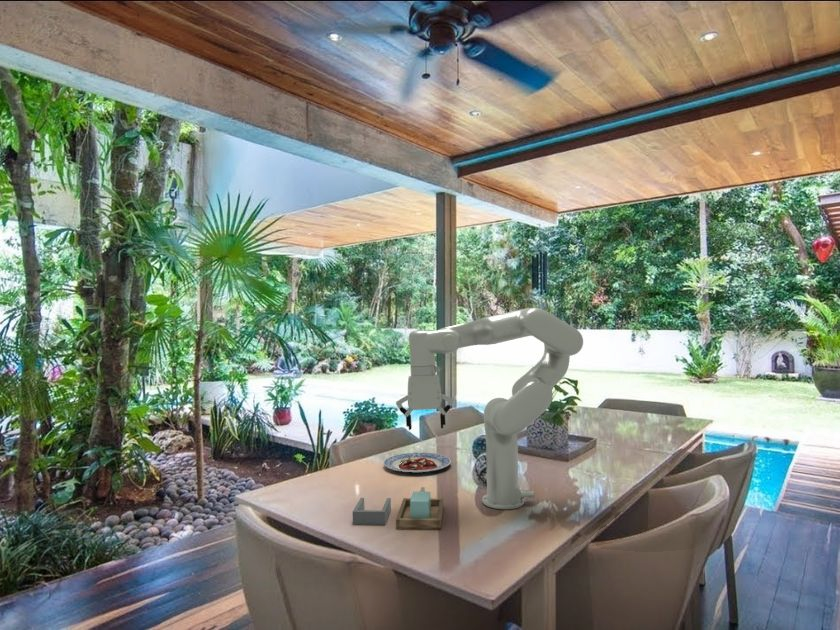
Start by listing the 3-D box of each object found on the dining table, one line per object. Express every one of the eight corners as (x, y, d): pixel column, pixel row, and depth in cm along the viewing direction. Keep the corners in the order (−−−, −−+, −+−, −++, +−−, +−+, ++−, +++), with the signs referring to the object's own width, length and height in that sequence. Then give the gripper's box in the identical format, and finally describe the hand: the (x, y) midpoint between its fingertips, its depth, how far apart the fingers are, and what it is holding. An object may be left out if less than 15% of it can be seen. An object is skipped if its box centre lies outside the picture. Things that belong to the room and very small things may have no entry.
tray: (443, 506, 153) (443, 498, 153) (440, 529, 137) (440, 520, 137) (403, 506, 155) (403, 498, 155) (396, 528, 138) (395, 519, 138)
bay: (390, 509, 152) (390, 498, 152) (384, 524, 141) (384, 511, 141) (361, 509, 153) (360, 497, 153) (352, 524, 142) (352, 511, 142)
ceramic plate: (462, 471, 189) (462, 463, 189) (396, 481, 180) (396, 472, 180) (434, 455, 213) (434, 447, 213) (375, 462, 204) (375, 455, 204)
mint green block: (431, 507, 152) (431, 487, 152) (428, 523, 140) (428, 501, 140) (415, 507, 152) (414, 487, 152) (410, 523, 140) (410, 501, 140)
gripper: (451, 368, 158) (454, 424, 157) (395, 371, 158) (398, 426, 158) (452, 371, 150) (455, 429, 150) (393, 374, 151) (396, 432, 150)
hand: (426, 428), depth 154 cm, fingers open, 9 cm apart
